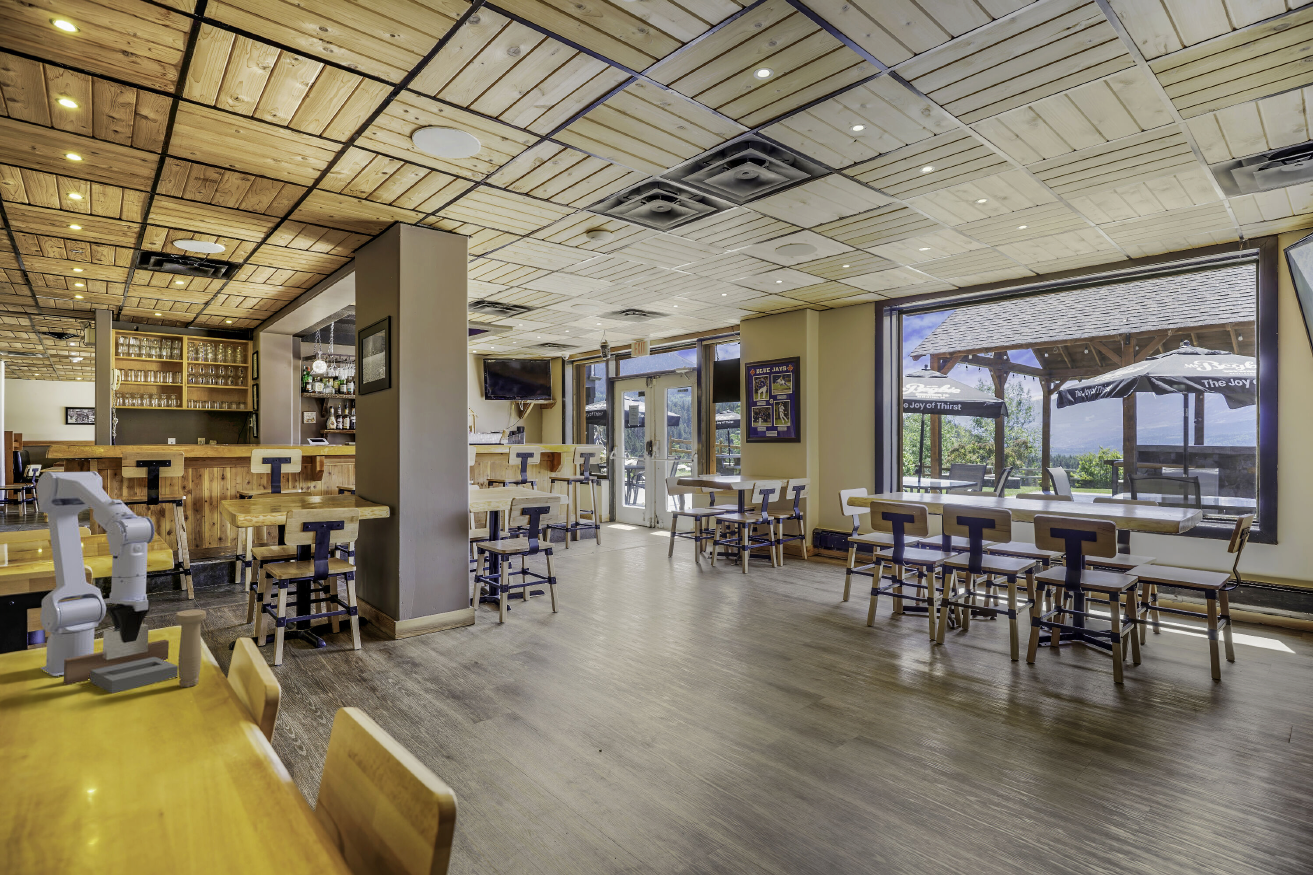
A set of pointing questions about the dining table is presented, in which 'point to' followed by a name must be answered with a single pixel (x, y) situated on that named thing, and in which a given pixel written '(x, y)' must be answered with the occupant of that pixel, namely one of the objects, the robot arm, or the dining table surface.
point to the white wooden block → (117, 648)
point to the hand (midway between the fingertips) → (126, 640)
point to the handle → (190, 646)
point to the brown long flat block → (108, 661)
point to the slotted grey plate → (133, 674)
